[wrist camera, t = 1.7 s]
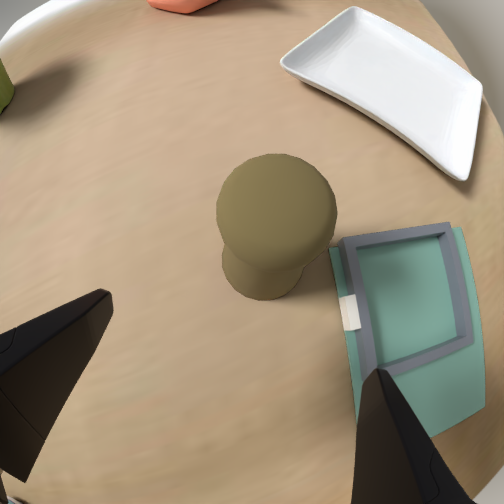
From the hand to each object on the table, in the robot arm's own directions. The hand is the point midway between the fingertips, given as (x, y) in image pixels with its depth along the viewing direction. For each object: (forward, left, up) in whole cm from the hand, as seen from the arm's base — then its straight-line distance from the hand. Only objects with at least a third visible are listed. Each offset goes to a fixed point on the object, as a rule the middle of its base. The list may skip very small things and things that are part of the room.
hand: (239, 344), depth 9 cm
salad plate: (+23, -21, -12) cm, 34 cm away
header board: (-4, -14, -12) cm, 19 cm away
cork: (+5, -2, -12) cm, 13 cm away
